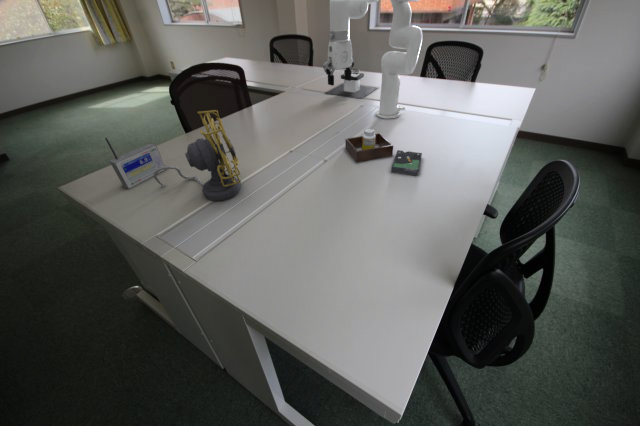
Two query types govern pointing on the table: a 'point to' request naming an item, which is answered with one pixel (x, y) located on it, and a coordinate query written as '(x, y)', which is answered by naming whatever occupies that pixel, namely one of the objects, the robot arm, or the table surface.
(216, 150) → the electric fan
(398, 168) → the disk drive
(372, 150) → the desk caddy
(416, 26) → the robot arm
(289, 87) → the table surface
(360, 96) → the black-topped pedestal
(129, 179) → the electronic device
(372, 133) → the supplement bottle
